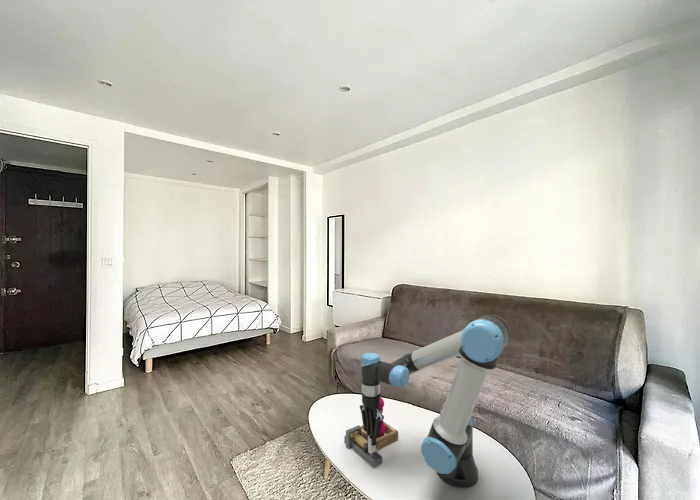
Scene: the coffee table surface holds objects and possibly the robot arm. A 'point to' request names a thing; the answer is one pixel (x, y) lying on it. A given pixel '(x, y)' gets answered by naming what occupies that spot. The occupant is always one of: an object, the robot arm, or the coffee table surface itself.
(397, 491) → the coffee table surface
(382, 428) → the pepper mill
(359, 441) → the pin
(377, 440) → the cradle
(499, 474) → the coffee table surface
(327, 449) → the coffee table surface
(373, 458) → the rail
